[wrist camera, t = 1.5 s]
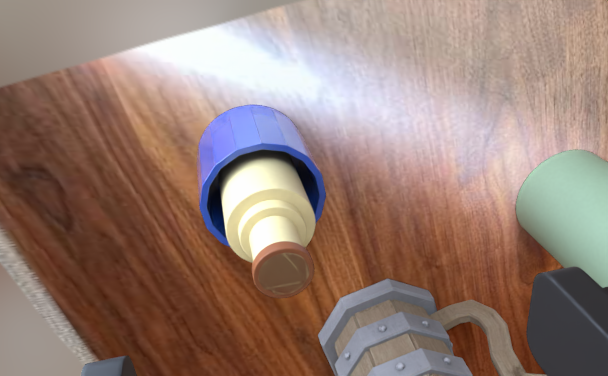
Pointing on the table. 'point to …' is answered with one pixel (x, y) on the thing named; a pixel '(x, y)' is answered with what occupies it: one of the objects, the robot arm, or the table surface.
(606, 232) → the green stand
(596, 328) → the robot arm
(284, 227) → the cream bottle
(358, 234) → the table surface
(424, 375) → the tankard
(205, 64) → the table surface
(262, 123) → the blue cup
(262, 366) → the table surface
